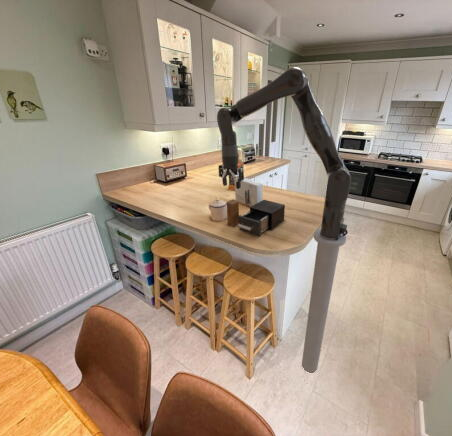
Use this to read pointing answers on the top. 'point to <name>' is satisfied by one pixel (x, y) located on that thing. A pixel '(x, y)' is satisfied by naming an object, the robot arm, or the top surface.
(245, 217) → the drawer
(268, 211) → the dark brown cabinet
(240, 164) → the whiskey bottle
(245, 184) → the skincare box
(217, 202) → the teacup with lid
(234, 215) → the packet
